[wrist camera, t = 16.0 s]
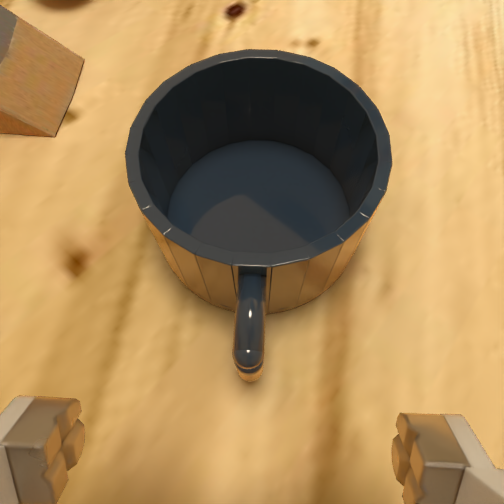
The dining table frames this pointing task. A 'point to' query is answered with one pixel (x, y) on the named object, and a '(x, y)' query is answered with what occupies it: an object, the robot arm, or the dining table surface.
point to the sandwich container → (33, 78)
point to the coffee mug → (258, 182)
